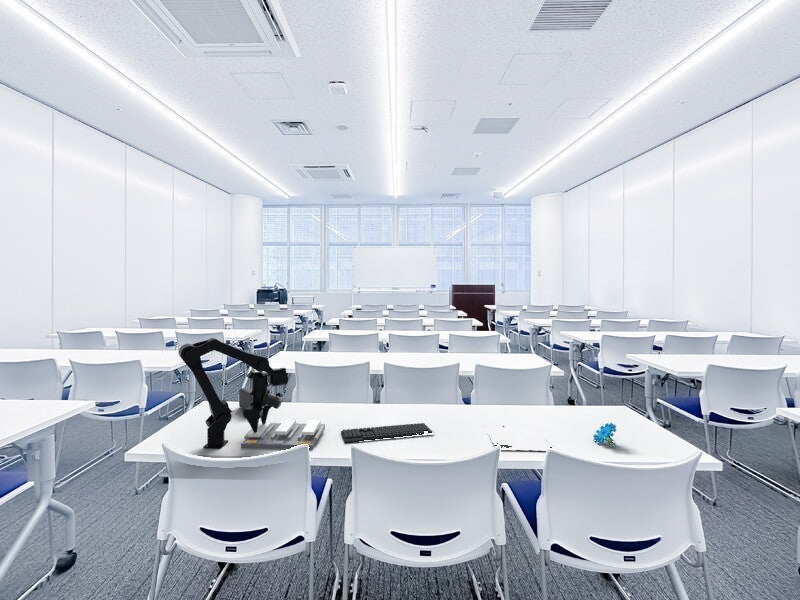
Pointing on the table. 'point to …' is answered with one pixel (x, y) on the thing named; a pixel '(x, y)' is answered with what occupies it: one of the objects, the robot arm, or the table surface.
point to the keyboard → (383, 432)
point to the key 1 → (260, 430)
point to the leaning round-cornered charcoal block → (245, 398)
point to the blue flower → (605, 433)
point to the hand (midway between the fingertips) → (259, 428)
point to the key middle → (285, 427)
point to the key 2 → (311, 427)
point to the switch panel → (283, 438)
